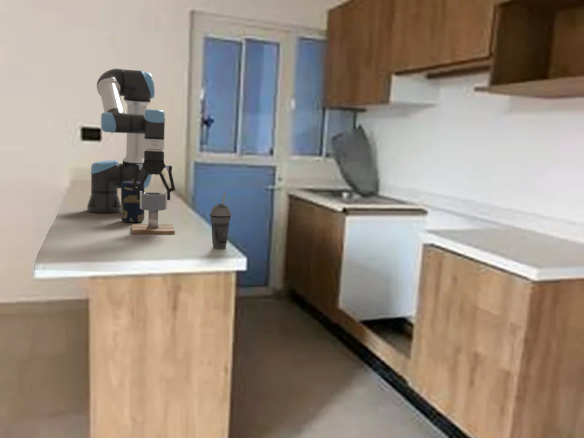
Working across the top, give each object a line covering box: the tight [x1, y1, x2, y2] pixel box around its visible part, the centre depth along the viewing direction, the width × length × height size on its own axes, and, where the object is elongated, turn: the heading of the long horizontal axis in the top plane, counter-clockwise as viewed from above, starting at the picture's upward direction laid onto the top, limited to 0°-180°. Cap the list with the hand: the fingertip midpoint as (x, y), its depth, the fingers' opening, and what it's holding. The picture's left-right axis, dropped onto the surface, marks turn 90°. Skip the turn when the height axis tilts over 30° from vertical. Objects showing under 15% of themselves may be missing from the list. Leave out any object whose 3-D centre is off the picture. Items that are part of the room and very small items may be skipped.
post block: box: [131, 210, 176, 235], centre depth 215 cm, size 14×16×9 cm
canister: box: [120, 179, 145, 223], centre depth 231 cm, size 10×10×18 cm
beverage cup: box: [209, 191, 232, 250], centre depth 190 cm, size 7×7×20 cm
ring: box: [142, 191, 166, 212], centre depth 213 cm, size 9×9×6 cm
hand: (153, 208), depth 214 cm, fingers closed on ring, 9 cm apart
